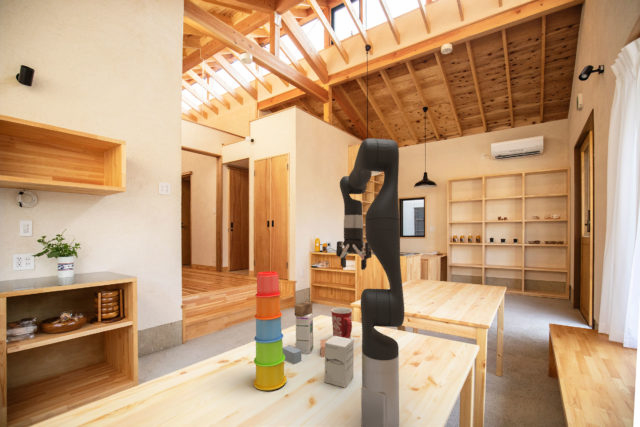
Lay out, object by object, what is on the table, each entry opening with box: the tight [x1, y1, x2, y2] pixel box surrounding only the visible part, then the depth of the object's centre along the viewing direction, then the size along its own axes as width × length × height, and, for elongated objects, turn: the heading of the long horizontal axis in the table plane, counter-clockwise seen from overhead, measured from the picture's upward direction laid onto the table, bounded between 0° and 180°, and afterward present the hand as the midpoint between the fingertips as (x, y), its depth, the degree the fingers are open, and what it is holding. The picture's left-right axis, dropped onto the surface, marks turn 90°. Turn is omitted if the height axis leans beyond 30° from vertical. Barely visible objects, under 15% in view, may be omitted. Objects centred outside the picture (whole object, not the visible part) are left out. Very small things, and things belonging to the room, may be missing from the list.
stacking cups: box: [253, 270, 288, 392], centre depth 93 cm, size 10×10×35 cm
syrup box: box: [295, 312, 314, 355], centre depth 117 cm, size 6×6×14 cm
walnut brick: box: [294, 301, 313, 317], centre depth 116 cm, size 7×4×4 cm, turn 145°
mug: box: [331, 307, 353, 339], centre depth 124 cm, size 13×9×14 cm
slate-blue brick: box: [283, 344, 303, 365], centre depth 108 cm, size 7×4×4 cm, turn 47°
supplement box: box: [324, 336, 355, 389], centre depth 94 cm, size 7×7×13 cm
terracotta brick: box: [320, 339, 329, 358], centre depth 114 cm, size 7×4×4 cm, turn 2°
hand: (353, 268), depth 114 cm, fingers open, 8 cm apart
